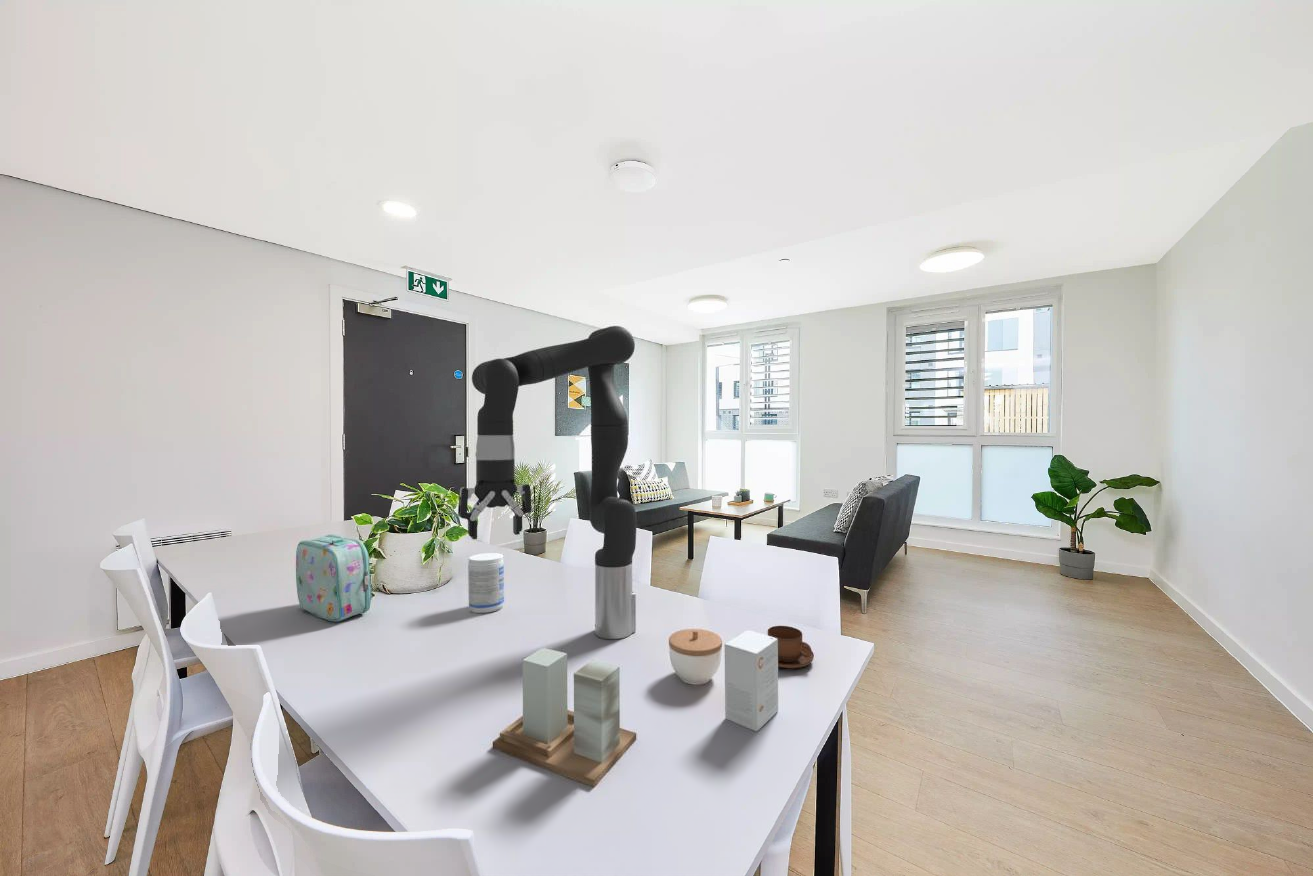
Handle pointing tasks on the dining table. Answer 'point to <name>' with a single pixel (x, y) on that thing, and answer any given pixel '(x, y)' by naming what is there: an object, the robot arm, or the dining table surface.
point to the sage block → (545, 694)
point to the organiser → (579, 730)
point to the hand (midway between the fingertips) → (495, 536)
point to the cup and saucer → (791, 647)
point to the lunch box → (333, 577)
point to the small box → (751, 679)
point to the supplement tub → (486, 582)
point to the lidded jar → (695, 655)
